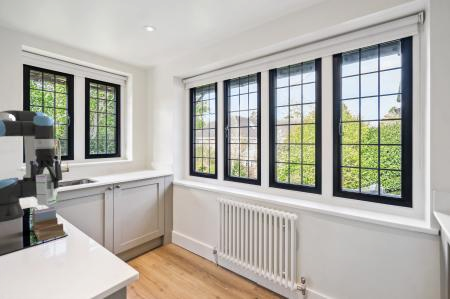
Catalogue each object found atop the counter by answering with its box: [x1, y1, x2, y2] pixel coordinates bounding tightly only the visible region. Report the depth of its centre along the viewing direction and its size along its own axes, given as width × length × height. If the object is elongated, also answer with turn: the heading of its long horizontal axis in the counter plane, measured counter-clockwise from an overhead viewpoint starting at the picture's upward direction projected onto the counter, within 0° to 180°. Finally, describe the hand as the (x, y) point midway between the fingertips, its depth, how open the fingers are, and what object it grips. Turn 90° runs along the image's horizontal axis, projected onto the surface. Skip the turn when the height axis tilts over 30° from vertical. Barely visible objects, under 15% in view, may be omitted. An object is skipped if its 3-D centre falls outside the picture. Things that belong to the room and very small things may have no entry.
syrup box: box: [36, 172, 59, 206], centre depth 113 cm, size 6×6×14 cm
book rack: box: [31, 207, 66, 242], centre depth 117 cm, size 22×10×10 cm, turn 45°
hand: (47, 195), depth 114 cm, fingers closed on syrup box, 6 cm apart
